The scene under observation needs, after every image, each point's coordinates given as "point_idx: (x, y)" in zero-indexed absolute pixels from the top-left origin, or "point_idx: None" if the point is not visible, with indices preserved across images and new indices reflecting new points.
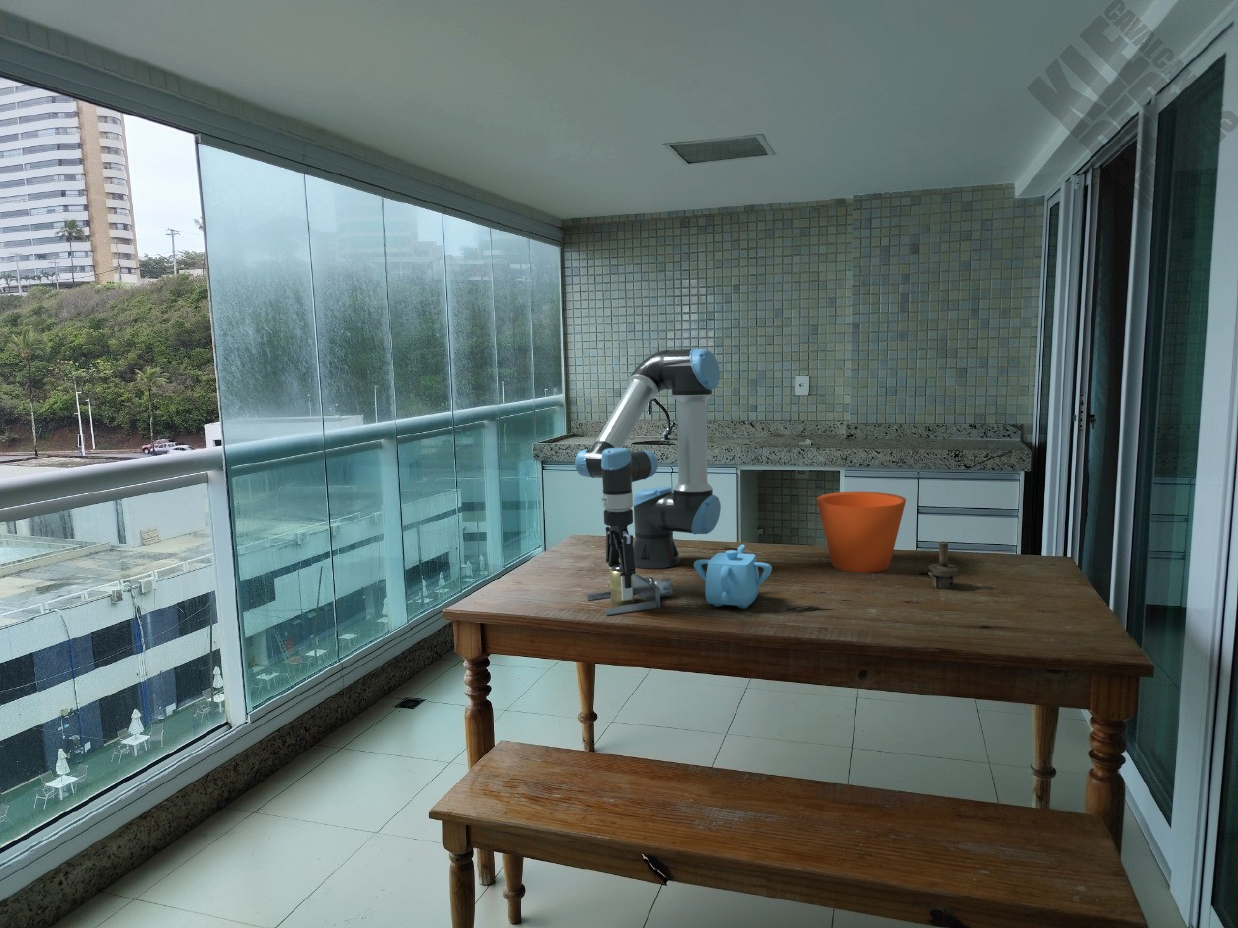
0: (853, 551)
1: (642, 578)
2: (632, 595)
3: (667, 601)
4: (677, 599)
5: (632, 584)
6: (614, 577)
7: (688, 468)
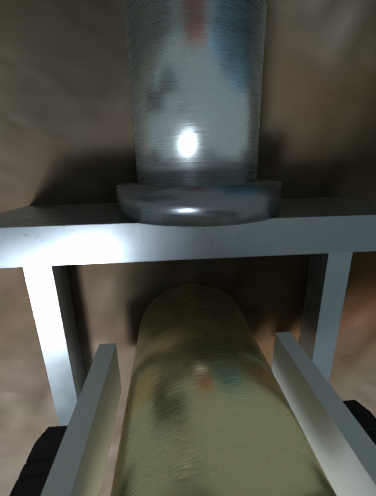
0: None
1: (113, 238)
2: (299, 346)
3: (275, 117)
4: (273, 37)
5: (259, 362)
6: None
7: None
